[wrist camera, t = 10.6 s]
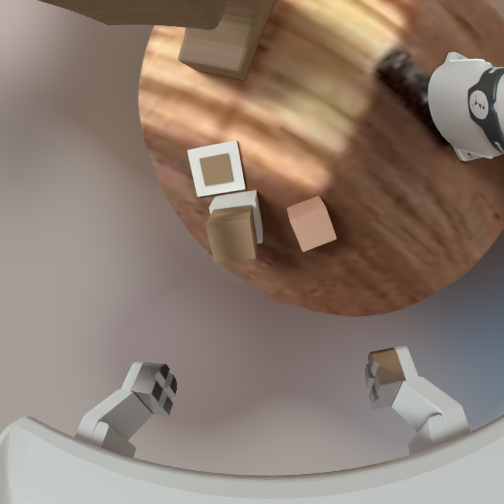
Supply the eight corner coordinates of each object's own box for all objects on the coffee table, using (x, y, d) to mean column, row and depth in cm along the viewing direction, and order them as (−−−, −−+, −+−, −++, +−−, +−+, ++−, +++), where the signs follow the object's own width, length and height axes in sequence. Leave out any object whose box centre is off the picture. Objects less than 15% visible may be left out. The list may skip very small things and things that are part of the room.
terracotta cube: (318, 195, 38) (325, 206, 34) (329, 224, 40) (336, 239, 36) (286, 207, 40) (289, 220, 35) (298, 236, 42) (302, 252, 37)
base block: (256, 190, 39) (255, 200, 34) (262, 228, 41) (262, 242, 37) (215, 196, 39) (208, 207, 35) (223, 233, 42) (218, 248, 38)
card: (237, 140, 35) (236, 140, 35) (245, 188, 38) (245, 189, 38) (188, 150, 36) (186, 150, 35) (198, 196, 39) (197, 197, 39)
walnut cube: (251, 204, 34) (249, 218, 30) (257, 240, 37) (255, 258, 32) (213, 209, 35) (205, 224, 31) (220, 244, 37) (214, 262, 33)
